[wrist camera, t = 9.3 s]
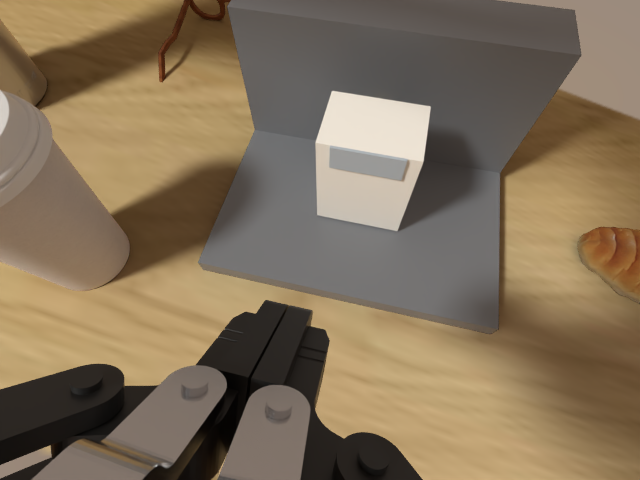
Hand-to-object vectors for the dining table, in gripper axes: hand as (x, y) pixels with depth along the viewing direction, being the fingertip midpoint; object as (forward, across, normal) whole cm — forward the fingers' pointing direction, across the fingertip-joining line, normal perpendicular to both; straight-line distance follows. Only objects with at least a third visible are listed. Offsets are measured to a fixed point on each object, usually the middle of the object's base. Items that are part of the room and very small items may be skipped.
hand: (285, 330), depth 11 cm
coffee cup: (+17, +21, +8) cm, 28 cm away
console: (+24, -1, 0) cm, 24 cm away
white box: (+22, -1, 0) cm, 22 cm away
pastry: (+23, -25, +2) cm, 34 cm away
